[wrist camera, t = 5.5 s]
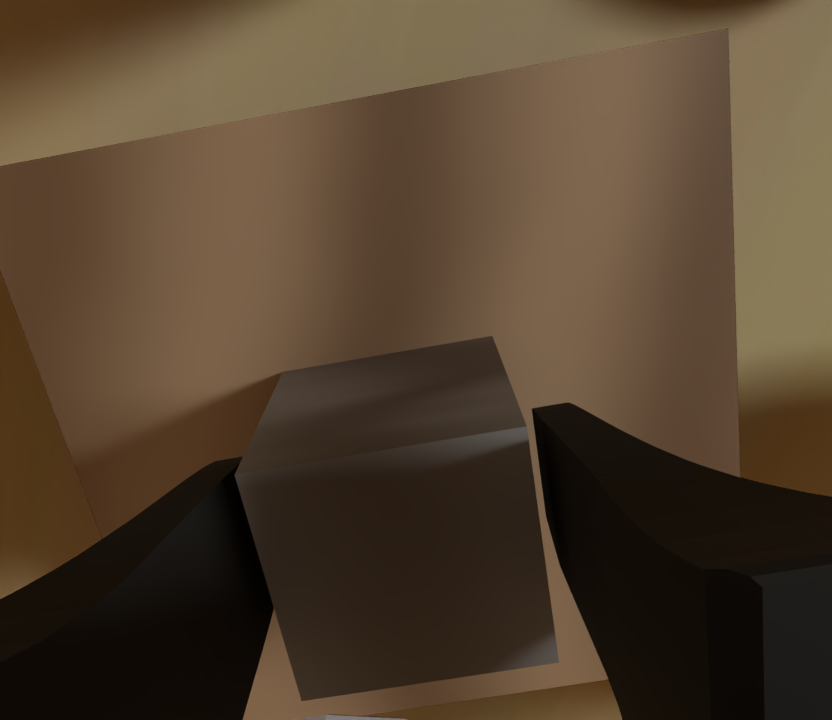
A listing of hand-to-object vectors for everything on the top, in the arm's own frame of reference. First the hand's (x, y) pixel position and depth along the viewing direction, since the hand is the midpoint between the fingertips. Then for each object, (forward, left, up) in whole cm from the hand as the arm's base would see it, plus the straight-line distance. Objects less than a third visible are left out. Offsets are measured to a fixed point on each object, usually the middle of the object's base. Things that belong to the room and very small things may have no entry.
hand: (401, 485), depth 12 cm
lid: (0, 0, -3) cm, 3 cm away
